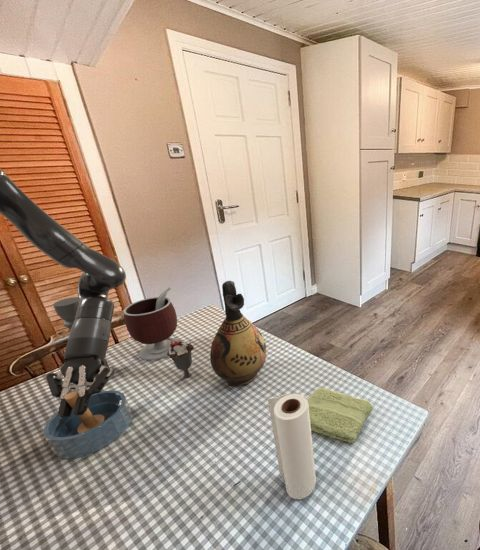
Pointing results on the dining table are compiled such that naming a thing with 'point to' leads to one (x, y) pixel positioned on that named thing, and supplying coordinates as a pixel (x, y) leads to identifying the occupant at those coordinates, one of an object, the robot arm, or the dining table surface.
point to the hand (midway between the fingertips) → (71, 415)
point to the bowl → (76, 445)
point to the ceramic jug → (237, 343)
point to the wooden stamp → (87, 417)
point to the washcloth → (337, 414)
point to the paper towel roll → (293, 443)
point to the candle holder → (69, 314)
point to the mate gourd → (152, 325)
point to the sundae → (181, 356)
